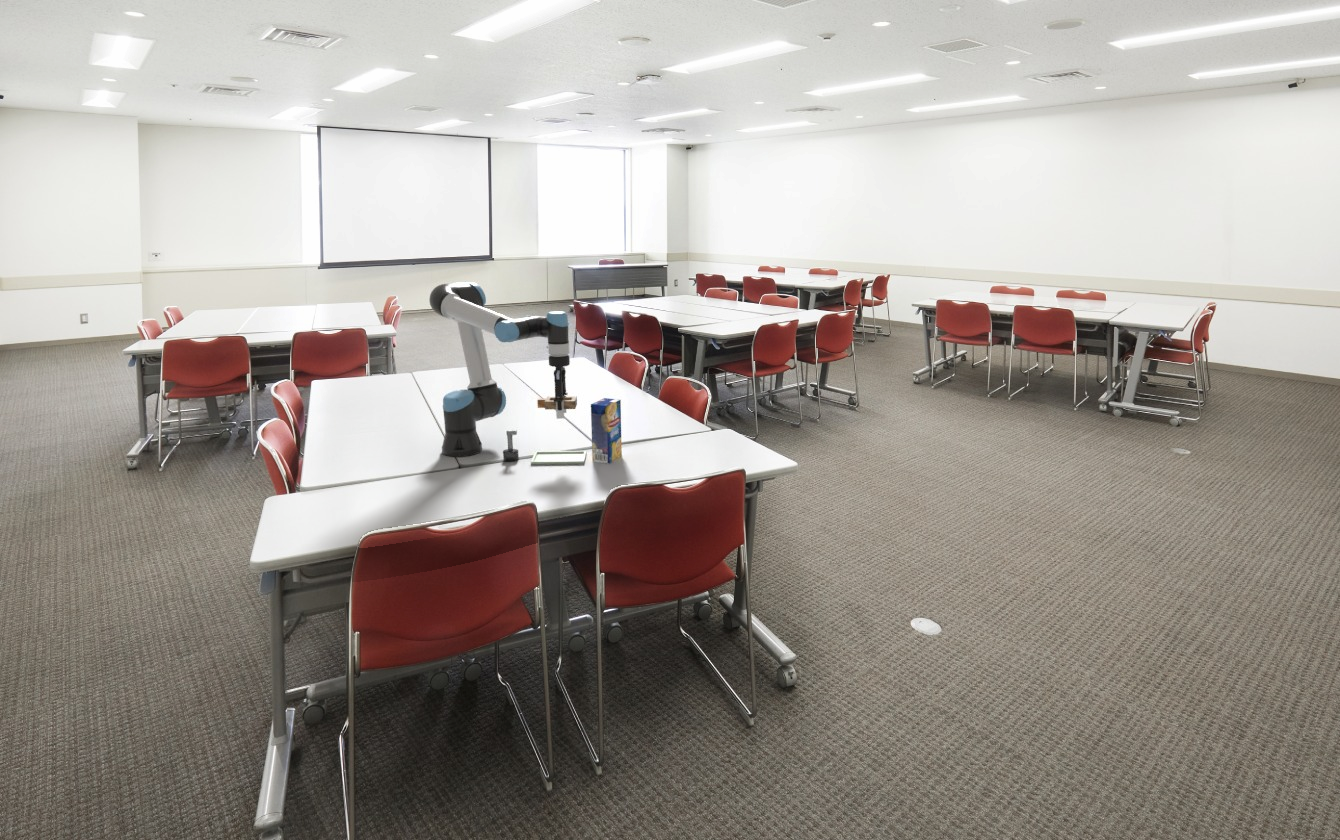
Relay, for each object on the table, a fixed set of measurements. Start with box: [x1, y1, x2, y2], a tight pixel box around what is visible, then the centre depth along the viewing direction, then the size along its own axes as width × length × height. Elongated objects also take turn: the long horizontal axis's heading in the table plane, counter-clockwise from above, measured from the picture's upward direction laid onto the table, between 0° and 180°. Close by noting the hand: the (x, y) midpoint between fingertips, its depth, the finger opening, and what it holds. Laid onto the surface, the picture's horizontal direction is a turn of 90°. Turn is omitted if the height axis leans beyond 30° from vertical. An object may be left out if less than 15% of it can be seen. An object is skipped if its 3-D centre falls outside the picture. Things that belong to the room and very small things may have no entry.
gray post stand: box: [502, 429, 520, 463], centre depth 280 cm, size 6×6×12 cm
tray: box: [530, 450, 587, 466], centre depth 281 cm, size 20×13×1 cm, turn 92°
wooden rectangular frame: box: [536, 395, 578, 410], centre depth 276 cm, size 14×8×3 cm, turn 92°
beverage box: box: [590, 397, 623, 464], centre depth 280 cm, size 7×11×22 cm, turn 158°
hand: (561, 415), depth 277 cm, fingers closed on wooden rectangular frame, 8 cm apart
